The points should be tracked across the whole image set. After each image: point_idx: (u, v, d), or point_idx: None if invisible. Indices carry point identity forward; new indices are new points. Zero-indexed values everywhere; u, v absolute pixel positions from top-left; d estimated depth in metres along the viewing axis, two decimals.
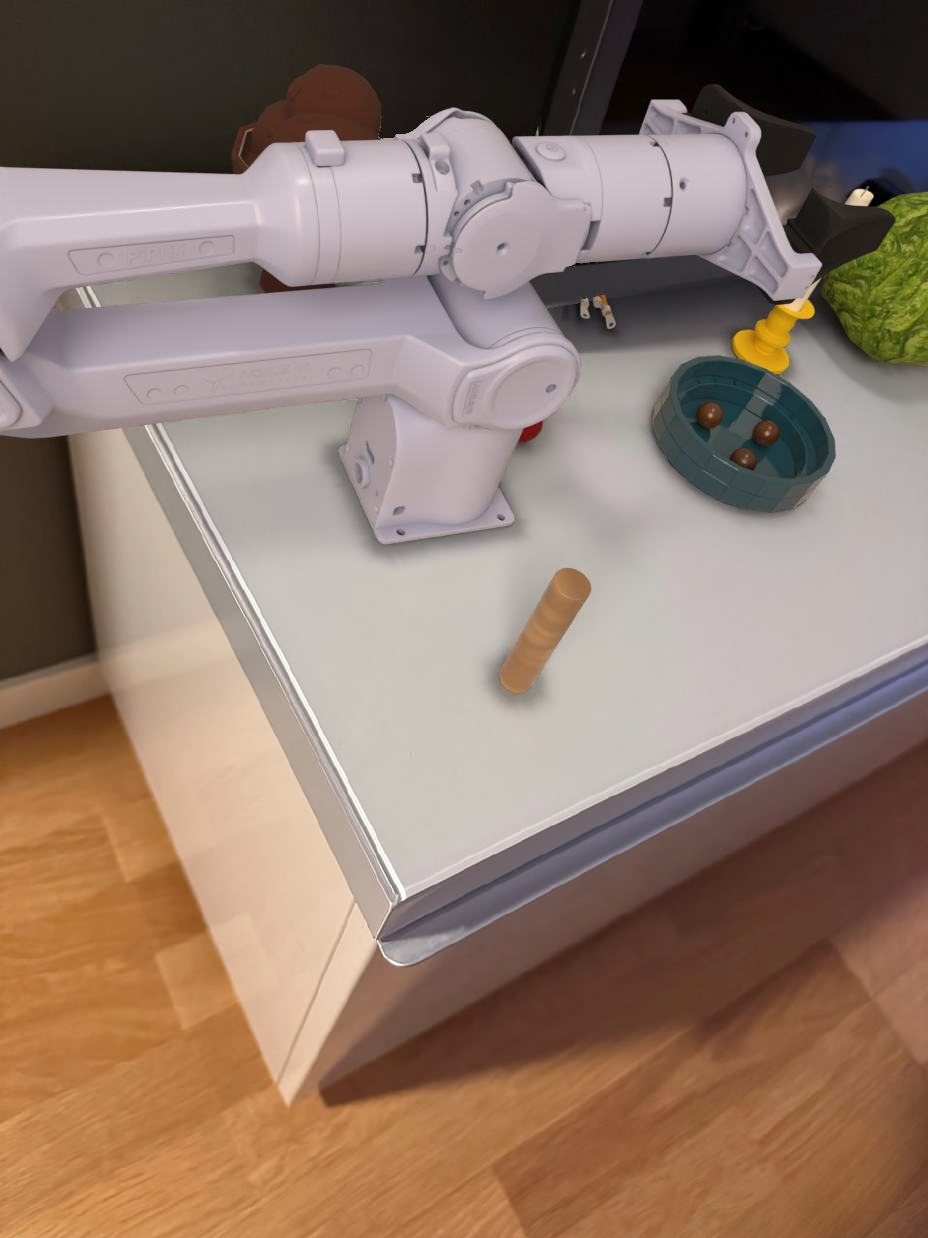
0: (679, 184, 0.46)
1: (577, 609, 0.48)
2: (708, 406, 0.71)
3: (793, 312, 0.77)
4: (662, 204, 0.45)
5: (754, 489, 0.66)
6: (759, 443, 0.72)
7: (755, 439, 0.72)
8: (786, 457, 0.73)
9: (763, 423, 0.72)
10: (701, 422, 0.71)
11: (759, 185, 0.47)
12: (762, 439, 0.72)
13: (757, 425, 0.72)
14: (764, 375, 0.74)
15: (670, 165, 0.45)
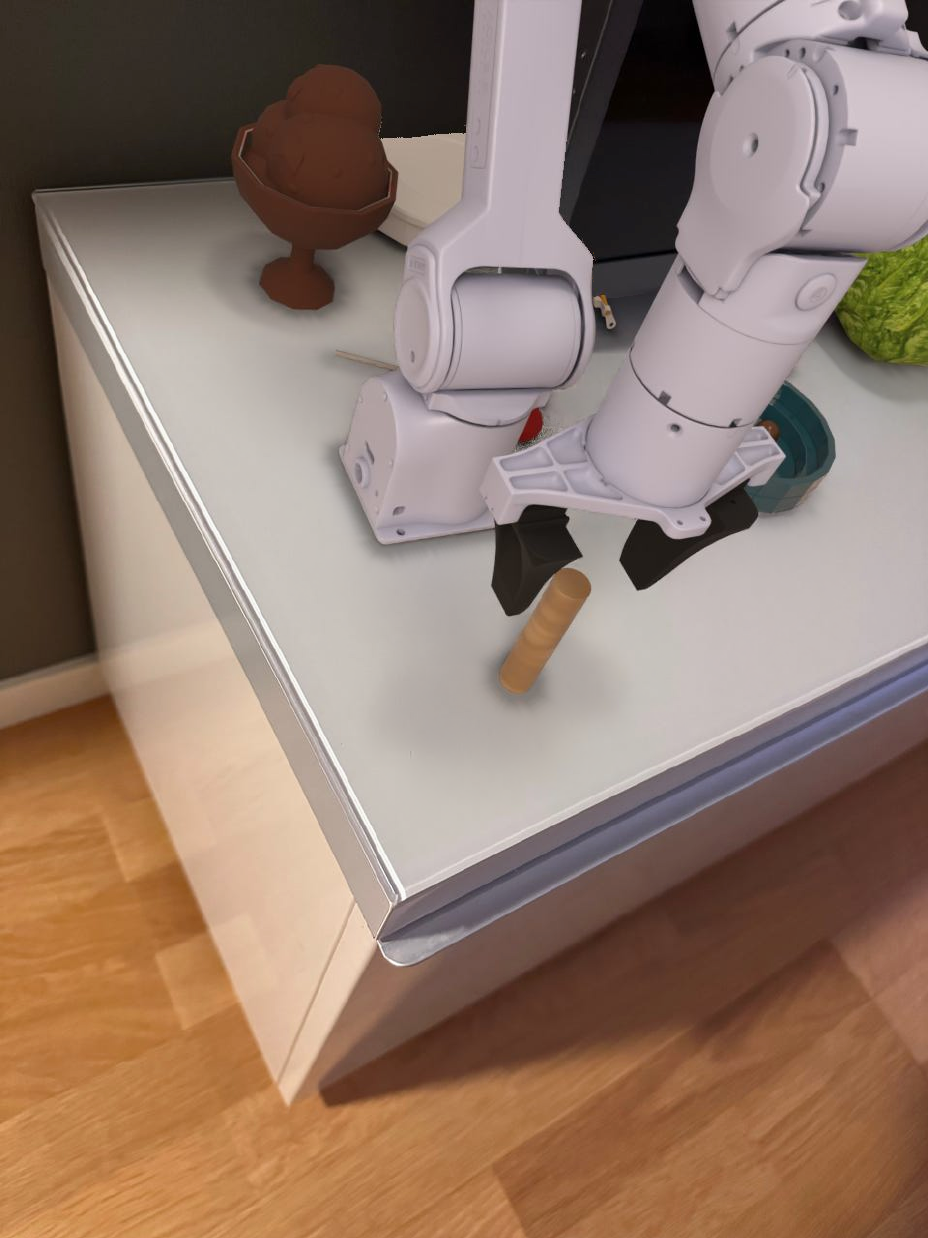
0: (678, 424, 0.36)
1: (577, 609, 0.48)
2: None
3: None
4: (665, 390, 0.35)
5: (754, 489, 0.66)
6: None
7: None
8: (786, 457, 0.73)
9: (763, 423, 0.72)
10: None
11: (620, 507, 0.38)
12: None
13: (757, 425, 0.72)
14: None
15: (704, 426, 0.35)
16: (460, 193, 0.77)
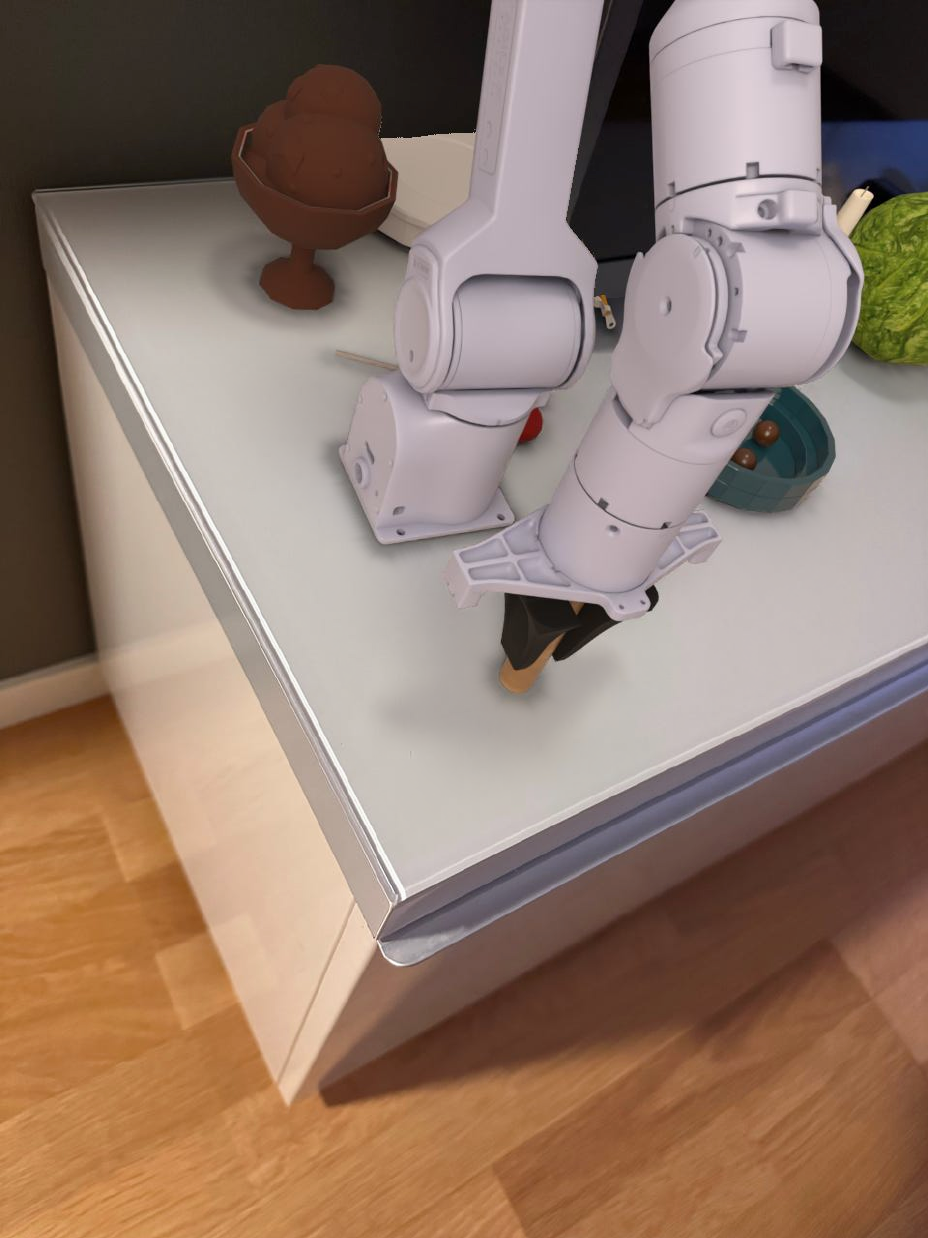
0: (615, 526, 0.40)
1: (578, 609, 0.48)
2: None
3: None
4: (603, 497, 0.39)
5: (754, 489, 0.66)
6: (759, 443, 0.72)
7: (755, 439, 0.72)
8: (786, 457, 0.73)
9: (763, 423, 0.72)
10: None
11: (568, 593, 0.43)
12: (762, 439, 0.72)
13: (757, 425, 0.72)
14: None
15: (639, 527, 0.40)
16: (460, 193, 0.77)
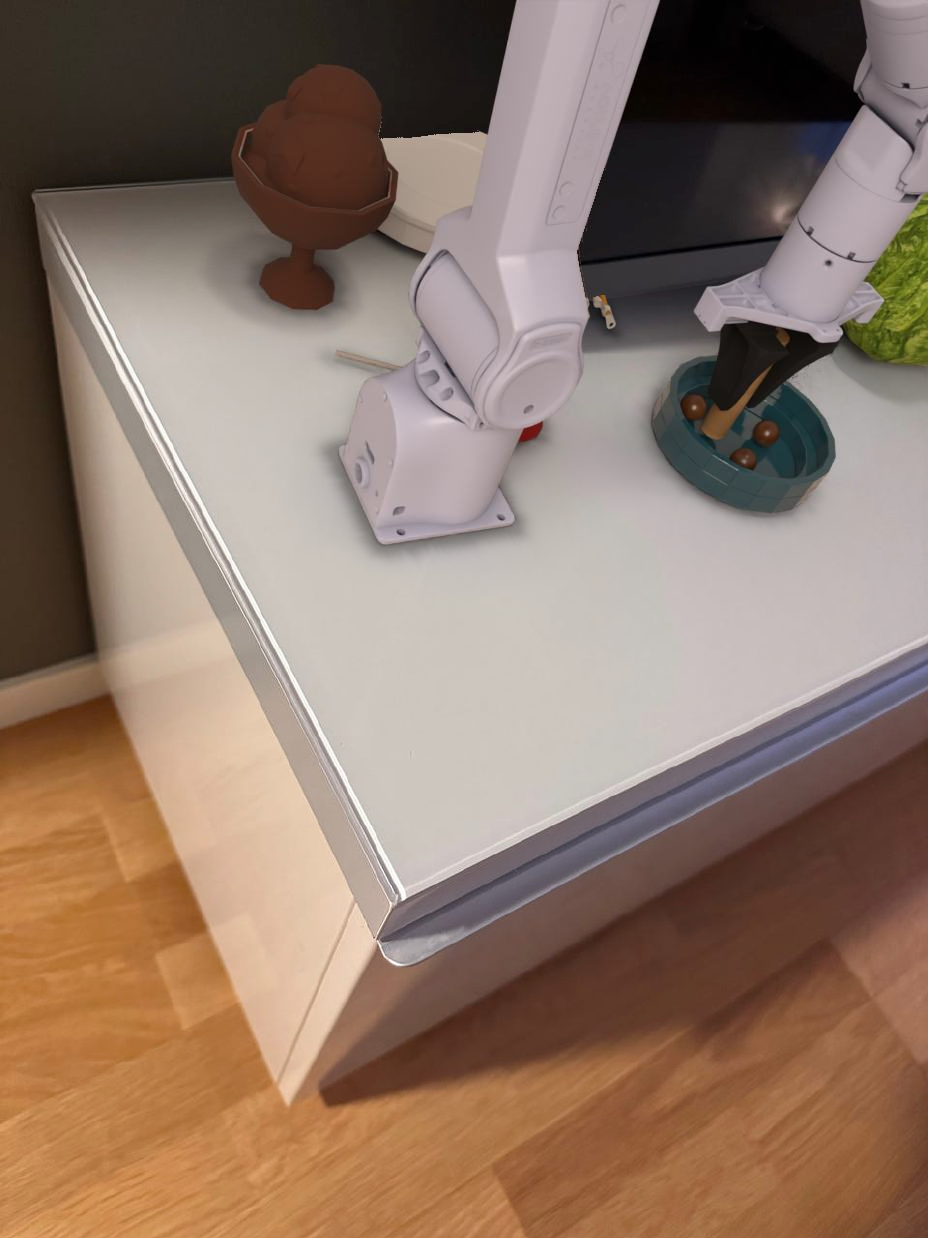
0: (830, 260, 0.57)
1: None
2: None
3: None
4: None
5: (754, 489, 0.66)
6: (759, 443, 0.72)
7: (755, 439, 0.72)
8: (786, 457, 0.73)
9: (763, 423, 0.72)
10: (685, 413, 0.71)
11: (786, 320, 0.60)
12: (762, 439, 0.72)
13: (757, 425, 0.72)
14: None
15: (847, 260, 0.57)
16: (460, 193, 0.77)
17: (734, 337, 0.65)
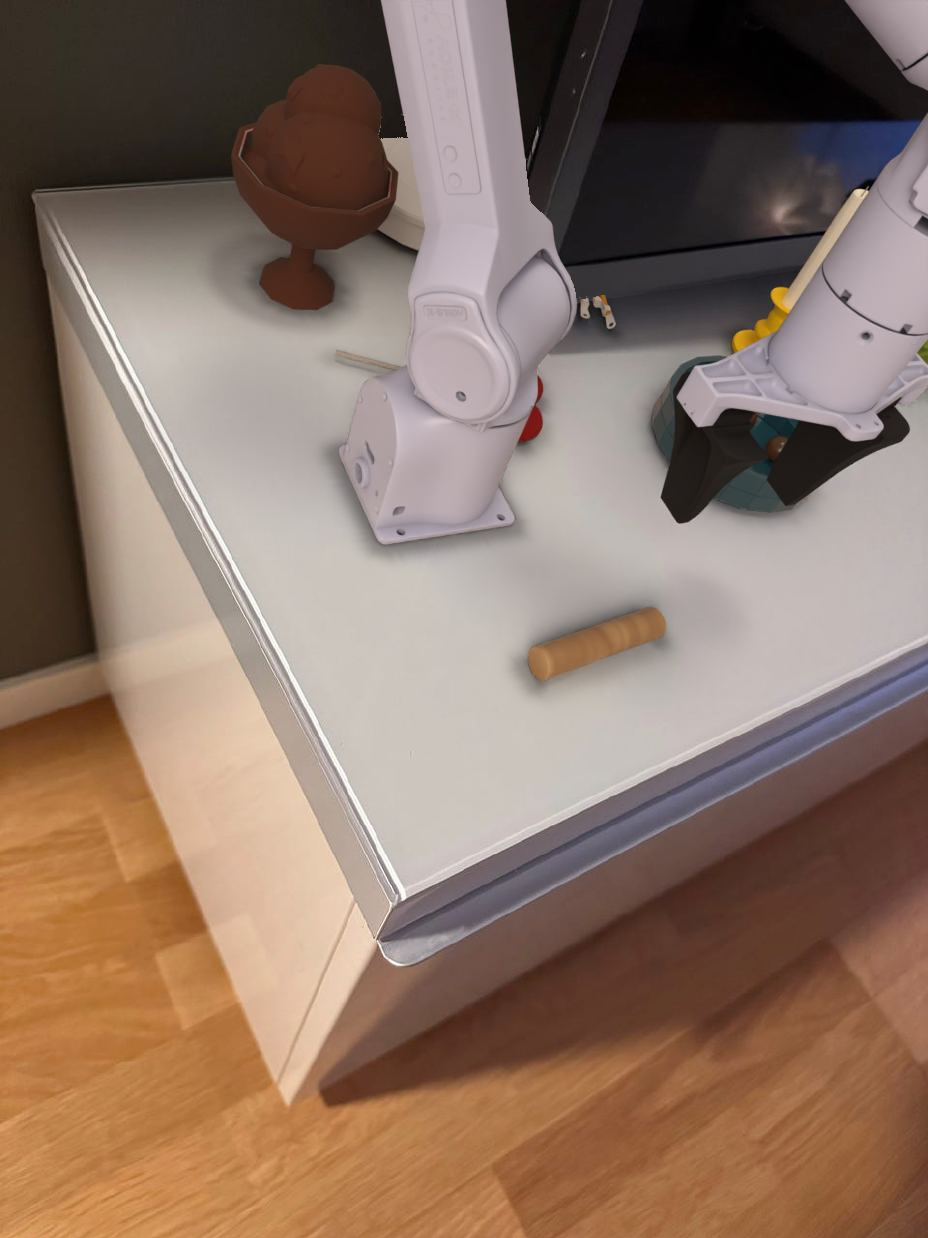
0: (869, 332, 0.40)
1: (651, 640, 0.58)
2: None
3: None
4: (908, 322, 0.40)
5: (754, 489, 0.66)
6: None
7: None
8: None
9: None
10: None
11: (806, 411, 0.43)
12: None
13: None
14: None
15: (893, 333, 0.40)
16: None
17: (694, 429, 0.47)
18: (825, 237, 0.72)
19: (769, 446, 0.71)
